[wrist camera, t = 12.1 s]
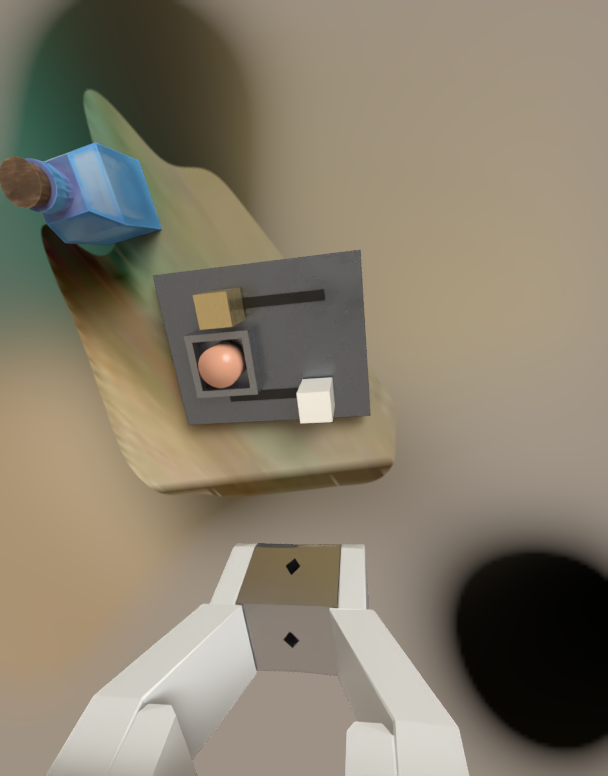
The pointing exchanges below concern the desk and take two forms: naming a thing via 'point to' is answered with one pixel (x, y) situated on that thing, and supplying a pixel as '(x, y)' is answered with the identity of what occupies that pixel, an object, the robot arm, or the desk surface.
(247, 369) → the console
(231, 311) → the brass slider
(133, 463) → the desk surface
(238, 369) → the push button
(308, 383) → the ivory slider
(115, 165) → the perfume bottle
